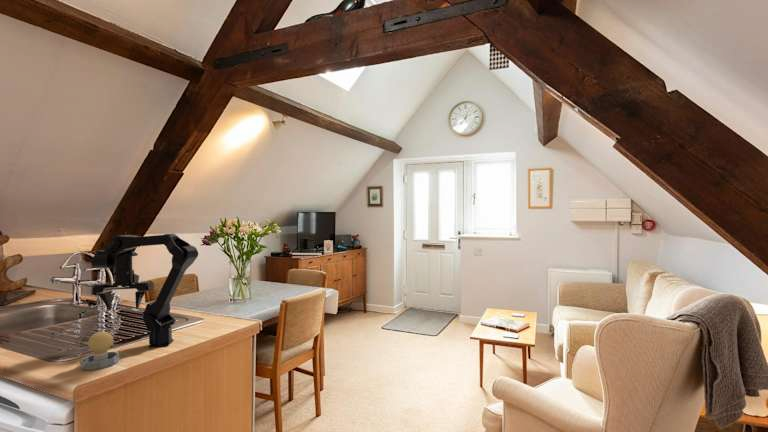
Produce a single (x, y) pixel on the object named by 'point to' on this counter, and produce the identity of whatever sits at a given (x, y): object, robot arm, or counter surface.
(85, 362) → the saucer
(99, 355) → the light bulb
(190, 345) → the counter surface
